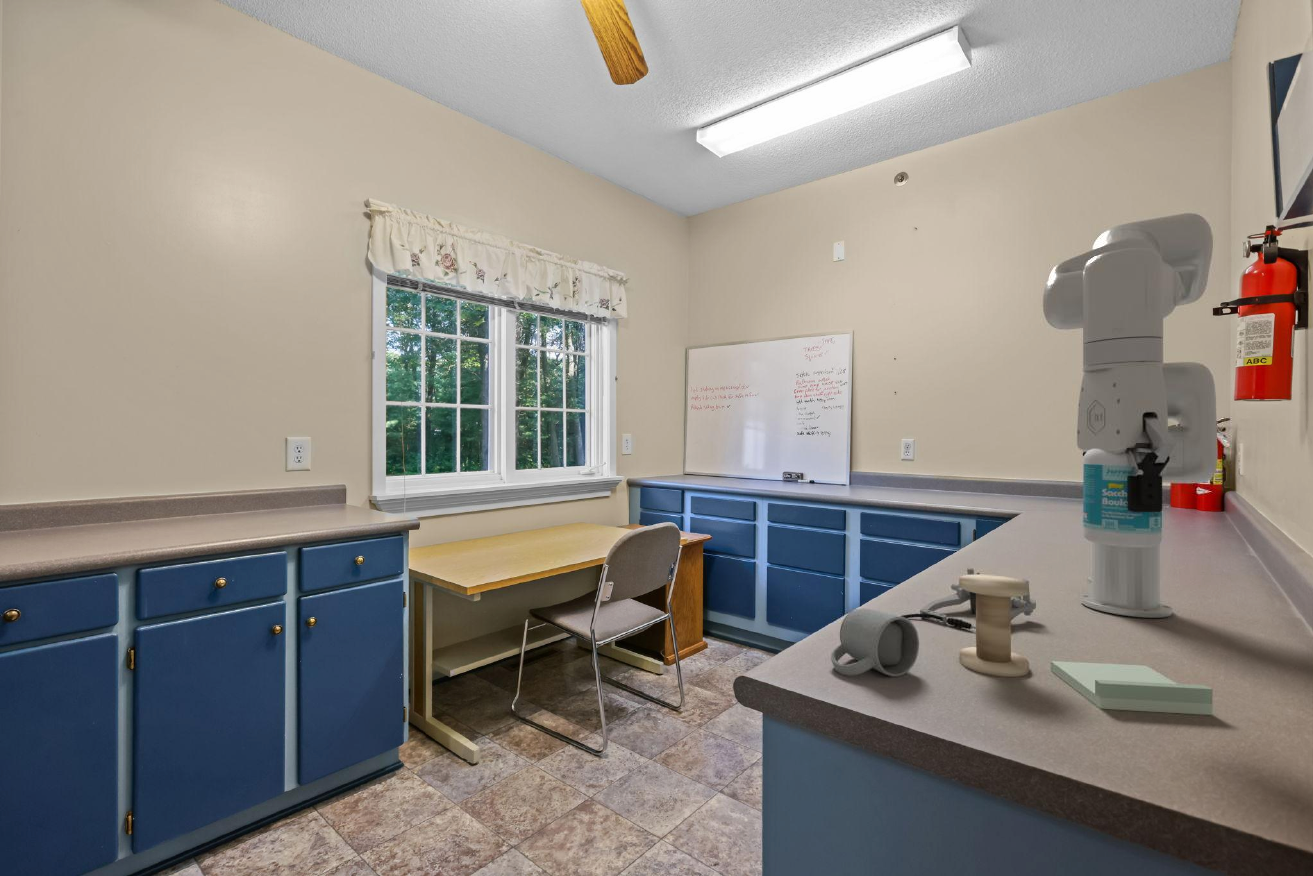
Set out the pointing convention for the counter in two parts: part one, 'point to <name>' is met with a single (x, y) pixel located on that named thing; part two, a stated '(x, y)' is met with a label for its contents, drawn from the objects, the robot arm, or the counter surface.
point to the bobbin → (993, 626)
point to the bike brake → (962, 596)
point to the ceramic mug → (876, 643)
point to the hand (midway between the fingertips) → (1122, 506)
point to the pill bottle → (1114, 504)
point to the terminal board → (1133, 688)
